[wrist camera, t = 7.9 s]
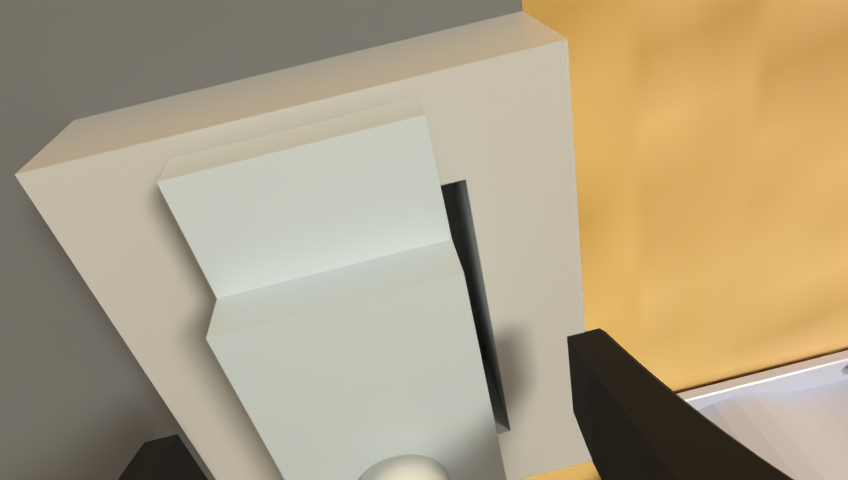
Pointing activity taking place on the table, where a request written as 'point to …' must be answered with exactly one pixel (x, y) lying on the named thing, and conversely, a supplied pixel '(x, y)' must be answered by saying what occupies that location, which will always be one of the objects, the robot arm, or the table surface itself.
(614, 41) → the table surface
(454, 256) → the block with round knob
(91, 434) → the servo chassis
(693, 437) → the robot arm
